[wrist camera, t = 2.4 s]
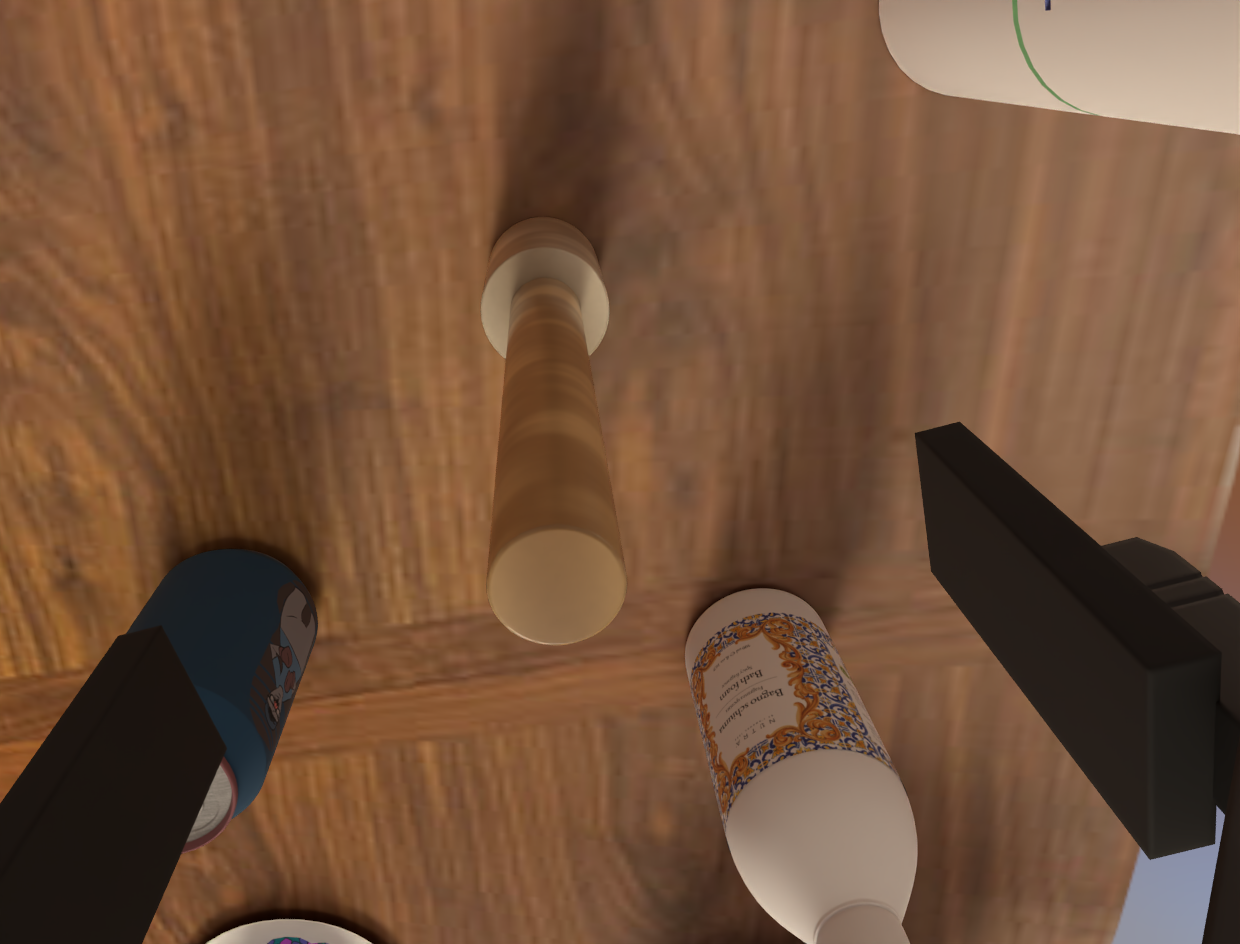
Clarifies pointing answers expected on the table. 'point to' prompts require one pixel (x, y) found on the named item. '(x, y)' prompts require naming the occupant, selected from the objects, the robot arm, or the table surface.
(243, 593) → the soda can
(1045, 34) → the cylindrical container
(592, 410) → the wooden dowel
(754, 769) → the bath foam
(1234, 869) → the robot arm
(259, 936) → the pudding
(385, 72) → the table surface
